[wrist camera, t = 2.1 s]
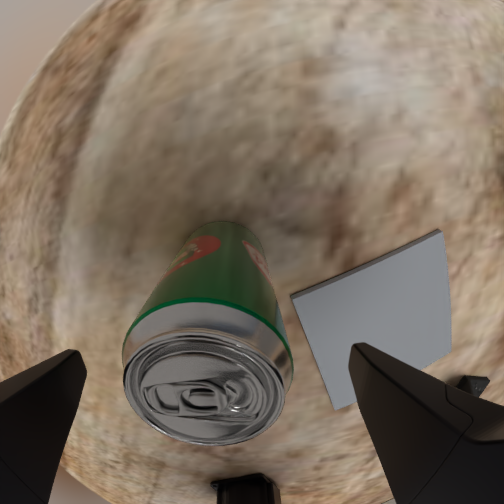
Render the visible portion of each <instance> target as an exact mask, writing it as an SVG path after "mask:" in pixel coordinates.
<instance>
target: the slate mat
mask: <svg viewBox="0 0 504 504" xmlns="http://www.w3.org/2000/svg"><path fill="white" fill-rule="evenodd" d="M291 298H292V301H293V303H294V306H295V308H296V311H297V314H298V316H299V319H300V321H301V324H302V326H303V329H304V331H305V334H306V336H307V339H308V341H309V344H310V347H311V349H312V352H313V354H314V357H315V359H316V362H317V365H318V367H319V370H320V372H321V375H322V378H323V380H324V383H325V386H326V388H327V391H328V393H329V396H330V399H331V401H332V404H333V407H334V409H335V410H338V409H340V408H343V407H345V406H348V405H350V404H352V403H355V402H357V399H356V395H355V392H354V388H353V384H352V381H351V377H350V374H349V370H348V363H349V357H350V351H351V346H352V345H353V344H354V343H360V342H365V343H367V344H369V345H371V346H373V347H375V348H377V349H379V350H381V351H383V352H385V353H387V354H389V355H391V356H393V357H395V358H397V359H399V360H401V361H403V362H405V363H407V364H409V365H411V366H413V367H415V368H417V369H419V370H421V369H423V368H425V367H427V366H428V365H430V364H432V363H433V362H435V361H437V360H438V359H440V358H442V357H443V356H445V355H447V354H448V353H450V352H451V303H450V287H449V276H448V266H447V257H446V250H445V243H444V236H443V231H441V230H436V231H434V232H432V233H430V234H428V235H426V236H424V237H422V238H420V239H418V240H416V241H414V242H412V243H409V244H407V245H405V246H403V247H401V248H399V249H397V250H395V251H393V252H390V253H388V254H386V255H384V256H382V257H380V258H377V259H375V260H373V261H371V262H369V263H366V264H364V265H362V266H360V267H358V268H355V269H353V270H351V271H348V272H346V273H344V274H342V275H339V276H337V277H335V278H332V279H330V280H328V281H325V282H323V283H321V284H318V285H316V286H313V287H311V288H309V289H306V290H304V291H301V292H299V293H296V294H294V295H292V296H291Z"/></svg>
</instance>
